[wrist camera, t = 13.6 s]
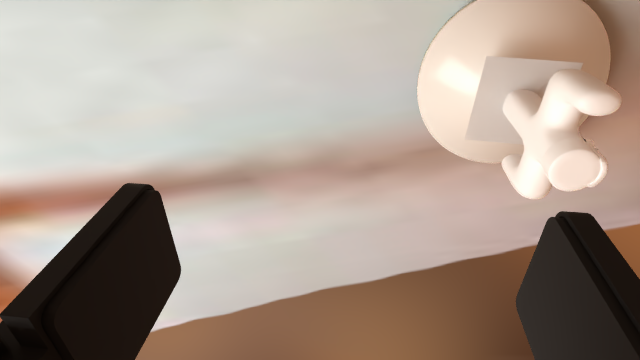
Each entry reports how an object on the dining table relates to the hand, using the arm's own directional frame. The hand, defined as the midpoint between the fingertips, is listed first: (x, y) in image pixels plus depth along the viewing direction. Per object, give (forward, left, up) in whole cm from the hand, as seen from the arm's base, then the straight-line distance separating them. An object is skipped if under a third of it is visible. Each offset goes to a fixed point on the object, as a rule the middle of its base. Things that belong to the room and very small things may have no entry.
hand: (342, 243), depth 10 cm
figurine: (+4, +13, -29) cm, 32 cm away
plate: (+4, +13, -30) cm, 33 cm away
